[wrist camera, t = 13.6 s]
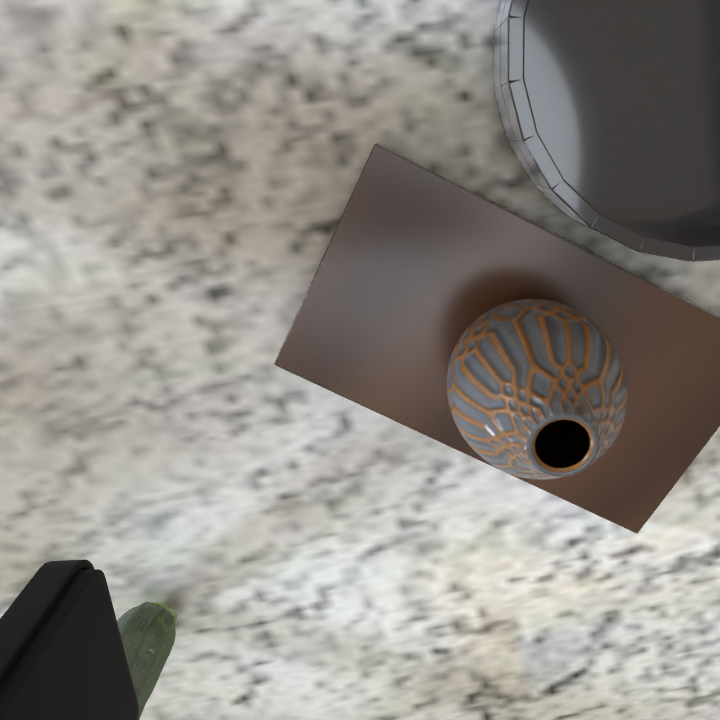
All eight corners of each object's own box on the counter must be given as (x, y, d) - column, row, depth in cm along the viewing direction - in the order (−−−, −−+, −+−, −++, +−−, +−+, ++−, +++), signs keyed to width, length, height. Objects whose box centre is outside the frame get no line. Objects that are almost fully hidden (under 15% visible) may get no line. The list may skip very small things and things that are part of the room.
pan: (425, 143, 27) (427, 144, 24) (638, -297, 22) (686, -386, 18) (739, 304, 29) (789, 329, 25) (1011, -73, 24) (1127, -113, 20)
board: (279, 354, 31) (273, 364, 30) (376, 143, 28) (375, 143, 26) (627, 517, 33) (637, 534, 32) (761, 338, 29) (779, 348, 28)
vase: (454, 274, 28) (475, 333, 20) (611, 292, 28) (699, 360, 19) (432, 416, 30) (443, 522, 22) (576, 433, 30) (642, 547, 22)
